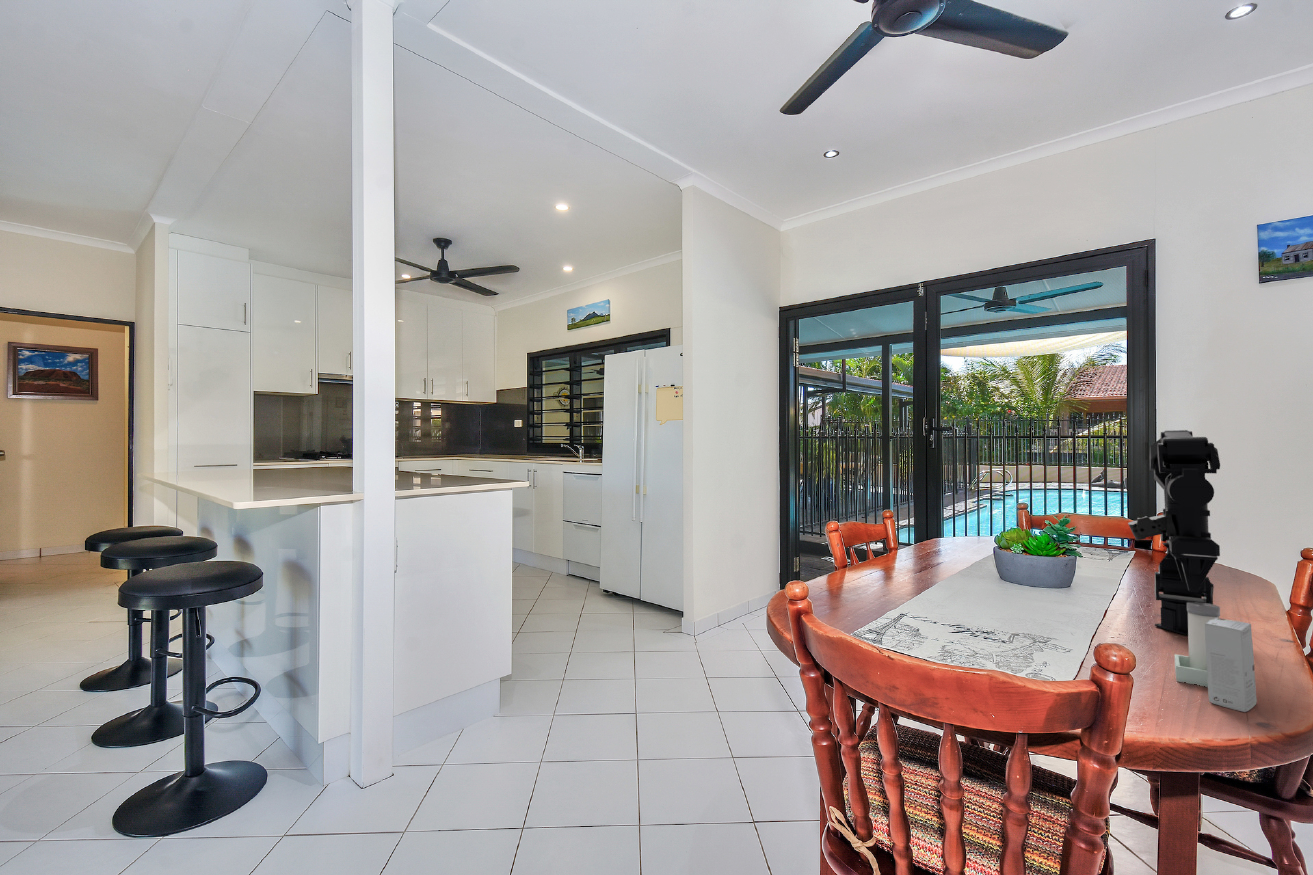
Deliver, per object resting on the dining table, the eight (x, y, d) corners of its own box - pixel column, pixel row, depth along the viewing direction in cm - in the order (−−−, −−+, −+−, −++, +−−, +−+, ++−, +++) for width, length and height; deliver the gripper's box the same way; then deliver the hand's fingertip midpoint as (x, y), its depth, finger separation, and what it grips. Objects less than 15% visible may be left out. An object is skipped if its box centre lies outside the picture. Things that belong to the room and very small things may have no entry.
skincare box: (1247, 713, 82) (1244, 630, 83) (1205, 702, 86) (1203, 623, 87) (1257, 702, 86) (1255, 623, 86) (1217, 692, 90) (1214, 616, 90)
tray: (1174, 668, 100) (1174, 654, 100) (1232, 678, 95) (1232, 663, 95) (1176, 680, 94) (1175, 665, 94) (1238, 692, 89) (1237, 677, 89)
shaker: (1201, 671, 97) (1200, 601, 97) (1228, 680, 93) (1226, 607, 93) (1181, 672, 96) (1180, 602, 97) (1207, 682, 92) (1206, 608, 93)
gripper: (1127, 498, 118) (1129, 572, 118) (1134, 505, 103) (1136, 590, 103) (1200, 500, 111) (1203, 579, 111) (1218, 508, 97) (1222, 599, 96)
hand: (1189, 586), depth 105 cm, fingers open, 9 cm apart
